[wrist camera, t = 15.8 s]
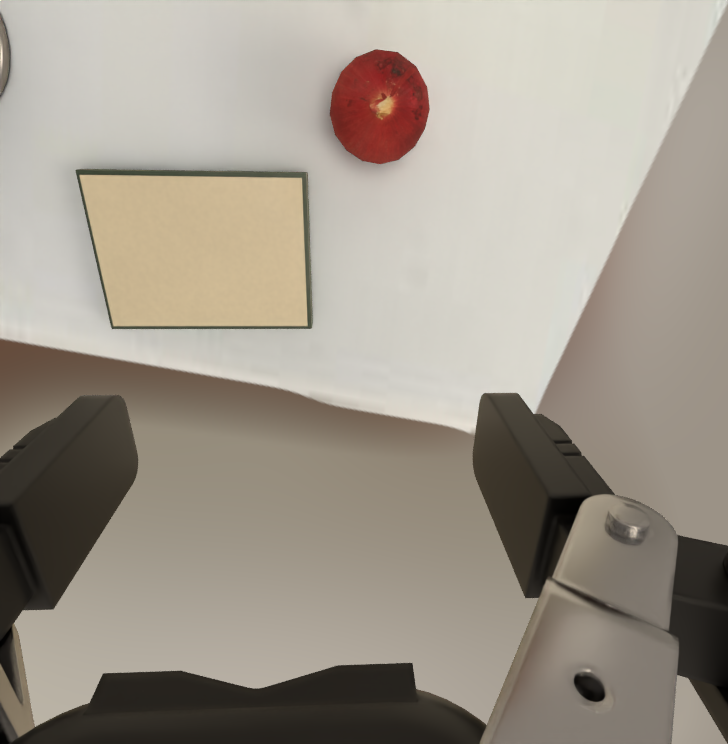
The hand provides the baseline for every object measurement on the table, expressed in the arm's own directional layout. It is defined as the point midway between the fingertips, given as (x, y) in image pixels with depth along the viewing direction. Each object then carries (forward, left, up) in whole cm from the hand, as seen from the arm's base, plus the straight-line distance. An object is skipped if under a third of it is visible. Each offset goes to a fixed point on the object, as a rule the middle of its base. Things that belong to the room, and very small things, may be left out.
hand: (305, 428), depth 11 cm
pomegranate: (+3, +8, -26) cm, 28 cm away
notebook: (-9, -1, -26) cm, 28 cm away
